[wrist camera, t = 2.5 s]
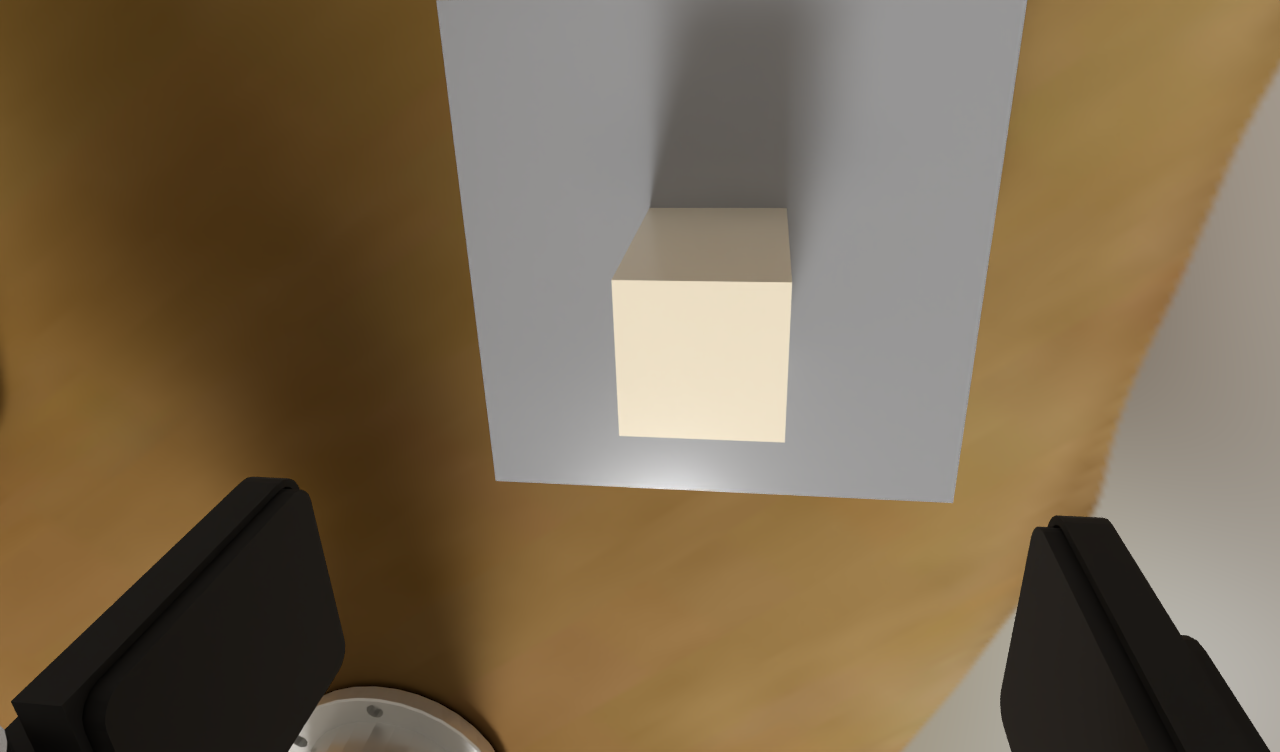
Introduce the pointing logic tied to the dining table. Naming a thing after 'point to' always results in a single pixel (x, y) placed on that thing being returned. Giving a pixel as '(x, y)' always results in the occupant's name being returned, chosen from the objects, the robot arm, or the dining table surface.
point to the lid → (730, 235)
